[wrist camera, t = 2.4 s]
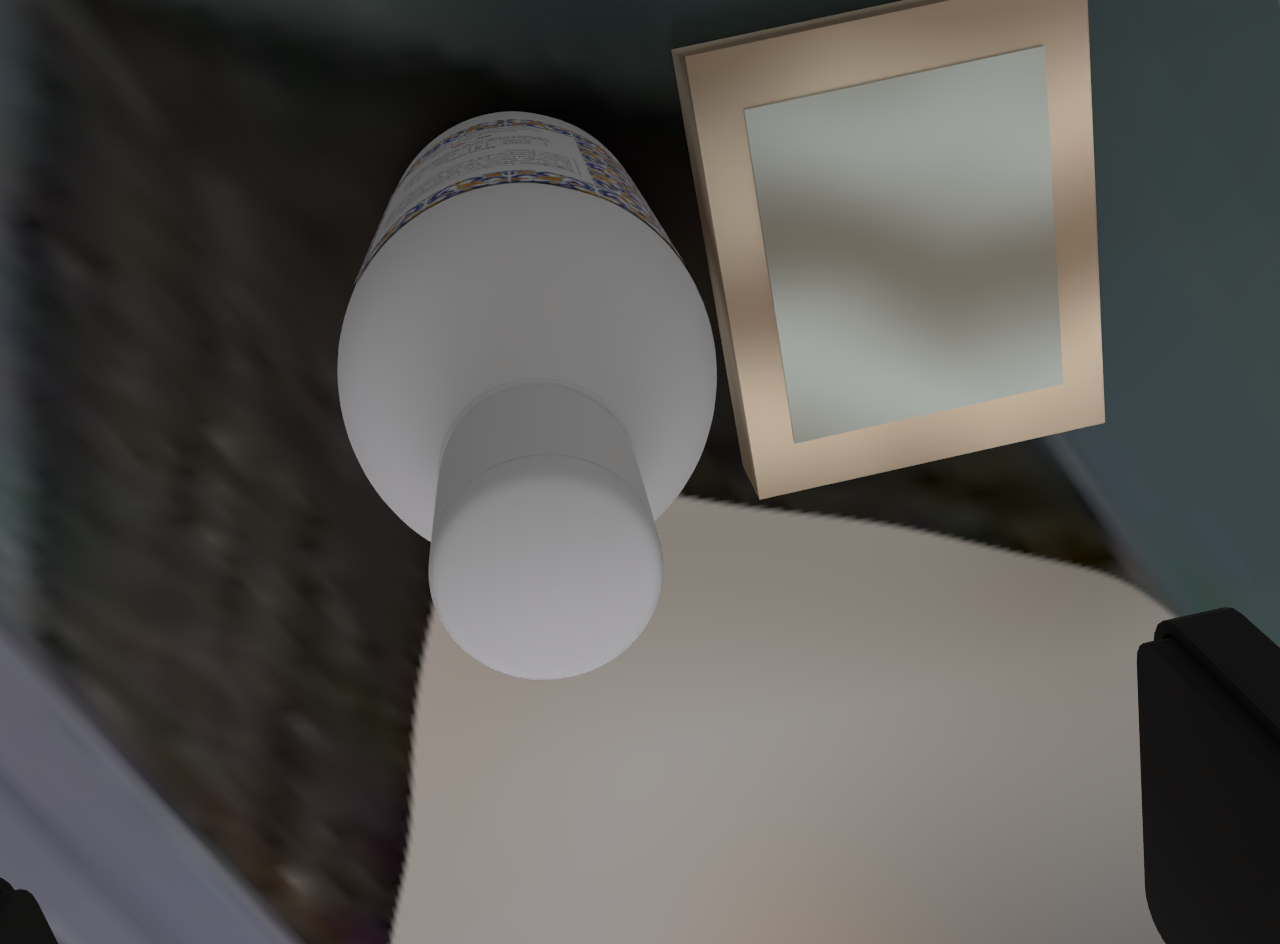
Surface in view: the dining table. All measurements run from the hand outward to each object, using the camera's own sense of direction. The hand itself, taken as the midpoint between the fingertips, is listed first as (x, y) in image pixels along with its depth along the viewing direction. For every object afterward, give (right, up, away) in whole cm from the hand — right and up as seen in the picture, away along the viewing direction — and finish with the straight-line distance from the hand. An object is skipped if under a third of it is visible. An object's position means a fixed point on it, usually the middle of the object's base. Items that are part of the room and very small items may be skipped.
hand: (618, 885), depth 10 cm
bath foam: (-3, +10, +23) cm, 26 cm away
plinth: (+7, +10, +24) cm, 27 cm away
